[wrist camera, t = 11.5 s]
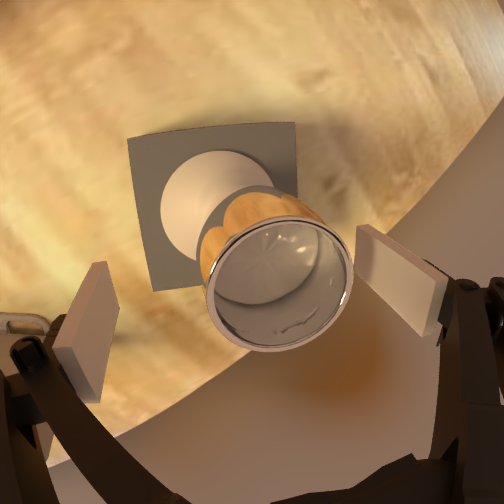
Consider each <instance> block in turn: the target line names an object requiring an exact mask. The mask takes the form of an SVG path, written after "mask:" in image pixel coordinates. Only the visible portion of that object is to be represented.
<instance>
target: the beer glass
mask: <svg viewBox="0 0 504 504" xmlns="http://www.w3.org/2000/svg"><path fill="white" fill-rule="evenodd" d="M197 214H198V218H199V220H200V225H199V229H198V233H197V238H196V263H197V269H198V274H199V279H200V283H201V286H202V290H203V293H204V296H205V299H206V303H207V308H208V312H209V315H210V317H211V319H212V321H213V323H214V325H215V326H216V328H217V329H218V330H219V331H220V332H221V333H222V335H224V336H225V337H226V338H227V339H228V340H230V341H231V342H233V343H234V344H236V345H238V346H240V347H243V348H246V349H249V350H253V351H259V352H278V351H284V350H289V349H293V348H296V347H299V346H301V345H303V344H306V343H307V342H309V341H311V340H313V339H315V338H316V337H318V336H319V335H320V334H322V333H323V332H324V331H325V330H327V328H329V327H330V326H331V325H332V323H334V321H335V320H336V319H337V318H338V316H339V315H340V314H341V312H342V310H343V309H344V307H345V305H346V303H347V301H348V298H349V296H350V293H351V289H352V284H353V264H352V259H351V256H350V253H349V251H348V248H347V246H346V245H345V243H344V242H343V240H342V239H341V238H340V236H339V235H338V234H337V233H336V232H335V231H333V230H332V229H331V228H330V227H328V225H327V224H326V223H325V222H324V221H323V220H322V219H321V218H320V217H319V216H318V215H317V214H316V213H315V212H314V211H313V210H311V209H310V208H309V207H308V206H306V205H305V204H304V203H303V202H301V201H300V200H299V199H297V198H295V197H294V196H292V195H290V194H288V193H287V192H285V191H282V190H280V189H277V188H274V187H270V186H266V185H262V183H261V182H260V181H259V180H258V179H257V178H256V177H254V176H253V175H251V174H249V173H247V172H244V171H240V170H228V171H223V172H220V173H218V174H216V175H214V176H213V177H211V178H210V179H209V180H208V181H207V182H206V183H205V184H204V185H203V187H202V188H201V190H200V192H199V195H198V198H197Z"/></svg>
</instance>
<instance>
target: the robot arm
mask: <svg viewBox="0 0 504 504" xmlns="http://www.w3.org/2000/svg"><path fill="white" fill-rule="evenodd" d="M354 272H355V273H356V274H357V275H359V277H360V278H362V279H363V280H364V281H365V282H366V283H367V284H368V285H369V286H370V287H371V288H372V289H373V290H374V291H375V292H376V293H377V294H378V295H379V296H381V298H383V300H385V301H386V302H387V303H388V304H389V305H390V306H391V307H392V308H393V309H394V310H395V311H396V312H397V313H398V314H399V315H400V316H401V317H402V318H403V319H404V320H405V321H406V322H407V323H408V324H409V325H410V326H411V327H412V328H413V329H414V330H415V331H416V332H417V333H418V334H419V335H420V336H421V337H424V336H427V335H429V334H432V333H434V332H435V328H436V325H437V321H438V322H440V323H441V324H442V325H443V326H442V329H441V333H440V336H439V339H438V342H437V345H436V346H439V344H440V368H439V385H438V397H437V407H436V416H435V424H434V432H433V438H432V445H431V451H430V454H429V458H428V459H422V460H416V459H415V457H414V455H413V454H412V453H411V454H409V455H407V456H404V457H402V458H401V459H398V460H396V461H394V462H392V463H389V464H387V465H385V466H383V467H381V468H380V469H378V470H377V471H376V472H374V473H373V474H371V475H370V476H369V477H367V478H366V479H364V480H363V481H361V482H360V483H359V484H357V485H356V486H354V487H352V488H349V489H344V490H336V491H325V492H315V493H307V494H304V495H300V496H296V497H292V498H289V499H285V500H280V501H276V502H272V503H270V504H504V405H501V403H500V392H499V387H500V390H501V393H502V395H503V398H504V278H503V277H493V278H491V280H490V283H489V287H487V288H480V287H479V285H478V284H477V283H475V282H474V281H472V280H468V279H457V280H454V279H453V278H452V277H450V276H449V275H447V274H446V273H444V272H443V271H441V270H439V268H437V267H436V266H434V265H433V264H431V263H430V262H428V261H427V260H424V259H422V258H420V257H418V256H417V255H415V254H413V253H412V252H410V251H409V250H408V249H406V248H405V247H403V246H401V245H400V244H398V243H397V242H395V241H394V240H392V239H391V238H389V237H387V236H386V235H384V234H383V233H381V232H380V231H378V230H377V229H375V228H373V227H372V226H370V225H369V224H367V225H359V226H357V229H356V245H355V259H354ZM119 309H120V307H119V304H118V301H117V297H116V294H115V290H114V287H113V283H112V280H111V276H110V272H109V269H108V265H107V261H102V262H96V263H92V265H91V267H90V269H89V271H88V273H87V274H86V276H85V278H84V280H83V282H82V284H81V286H80V288H79V290H78V292H77V294H76V296H75V298H74V300H73V302H72V304H71V307H70V309H69V311H68V313H67V314H62V315H59V316H58V317H57V318H56V319H55V320H54V321H53V322H52V324H51V326H50V328H49V331H48V332H47V335H46V337H45V339H44V341H43V343H42V342H41V340H40V338H38V337H37V336H33V335H31V336H25V337H23V338H20V339H19V340H18V341H16V342H15V343H14V344H13V345H12V346H11V348H10V351H9V353H10V357H11V359H12V360H13V362H14V364H15V366H16V367H17V369H18V371H19V373H16V374H13V375H10V376H6V377H5V375H4V373H3V372H2V370H1V369H0V504H60V503H59V501H58V498H57V495H56V493H55V490H54V487H53V484H52V481H51V478H50V475H49V472H48V468H47V465H46V462H45V458H44V455H43V451H42V447H41V444H40V440H39V436H38V431H37V427H36V425H37V424H41V423H44V422H47V423H48V425H49V426H50V428H51V430H52V431H53V433H54V434H55V436H56V437H57V439H58V440H59V442H60V443H61V445H62V446H63V448H64V449H65V451H66V452H67V454H68V455H69V456H70V458H71V459H72V461H73V462H74V463H75V465H76V466H77V467H78V468H79V470H80V471H81V473H82V474H83V475H84V476H85V478H86V479H87V480H88V481H89V483H90V484H91V485H92V486H93V488H94V489H95V490H96V491H97V492H98V494H99V495H100V496H101V497H102V498H103V499H104V501H105V502H106V503H107V504H191V503H190V502H189V501H187V500H186V499H185V498H183V497H182V496H180V495H179V494H177V493H173V492H171V491H170V490H169V489H168V488H166V487H165V486H164V485H163V484H162V483H161V482H159V481H158V480H157V479H156V478H155V477H154V476H153V475H152V474H150V473H149V472H148V471H147V470H146V469H145V468H144V467H143V466H142V465H141V464H140V463H139V462H138V461H137V460H136V459H134V458H133V457H132V456H131V455H130V454H129V453H128V452H127V451H126V450H125V449H124V448H123V447H122V446H121V445H120V443H118V441H116V439H115V438H114V437H113V436H112V435H111V434H110V433H109V432H108V431H107V430H106V429H105V427H104V426H103V425H102V424H101V423H100V422H99V421H98V420H97V418H96V417H95V416H94V415H93V414H92V413H91V411H90V410H89V409H88V408H87V407H86V405H85V404H84V403H100V399H101V393H102V388H103V382H104V377H105V372H106V367H107V362H108V357H109V352H110V347H111V343H112V338H113V334H114V330H115V325H116V321H117V317H118V313H119ZM502 321H503V326H501V324H502Z"/></svg>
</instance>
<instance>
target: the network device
mask: <svg viewBox="0 0 504 504" xmlns="http://www.w3.org/2000/svg"><path fill="white" fill-rule="evenodd" d="M8 321H19V322H35V323H38V324H39V325H40V326H41V327H42V329H43V331H44V334H45V336H40V335H33V336H37V337H38V338H40V340H41V342H42V343H43V341H44V339H45V337H46V335H47V332H48V331H49V328H50V325H49V324H48V322H47V321H46V320H44V319H43V318H42V317H40V316H38V315H35V314H24V313H2V312H0V369H1V370H2V372H3V373H4V375H5V377H6V376H10V375H13V374H16V373H19V371H18V369H17V367H16V366H15V364H14V362H13V360H12V359H11V357H10V353H9V351H10V348H11V346H12V345H13V344H14V343H15V342H16V341H18V340H19V339H20V338H23V337H25V336H31V335H23V334H11V333H10V330H9V327H8V323H7V322H8ZM36 427H37V431H38V436H39V440H40V444H41V447H42V451H43V455H44V458H45V462H46V461H47V459H48V457H49V452H50V448H51V444H52V440H53V436H54V433H53V431H52V430H51V428H50V426H49V425H48V423H47V422H44V423H41V424H37V425H36Z"/></svg>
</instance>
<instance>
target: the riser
mask: <svg viewBox="0 0 504 504" xmlns="http://www.w3.org/2000/svg"><path fill="white" fill-rule="evenodd" d="M127 142H128V151H129V159H130V166H131V174H132V181H133V188H134V194H135V201H136V207H137V213H138V218H139V224H140V230H141V235H142V240H143V245H144V251H145V255H146V260H147V265H148V270H149V274H150V279H151V283H152V288H153V292H156V291H163V290H170V289H178V288H185V287H192V286H199V285H201V283H200V279H199V274H198V269H197V263H196V238H197V233H198V229H199V225H200V220H199V218H198V214H197V198H198V195H199V192H200V190H201V188H202V187H203V185H204V184H205V183H206V182H207V181H208V180H209V179H210V178H211V177H213V176H214V175H216V174H218V173H220V172H223V171H228V170H240V171H244V172H247V173H249V174H251V175H253V176H254V177H256V178H257V179H258V180H259V181H260V182H261V183H262V185H266V186H270V187H274V188H277V189H280V190H282V191H285V192H287V193H288V194H290V195H292V196H294V197H295V198H297V199H298V197H297V166H296V141H295V122H266V123H249V124H235V125H223V126H212V127H203V128H194V129H185V130H177V131H170V132H163V133H156V134H150V135H143V136H138V137H133V138H129V139H127Z"/></svg>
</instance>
